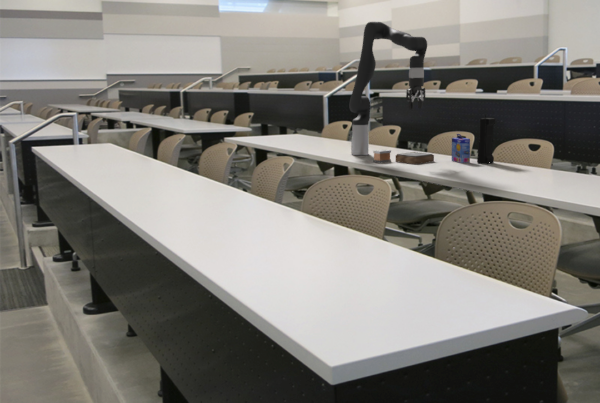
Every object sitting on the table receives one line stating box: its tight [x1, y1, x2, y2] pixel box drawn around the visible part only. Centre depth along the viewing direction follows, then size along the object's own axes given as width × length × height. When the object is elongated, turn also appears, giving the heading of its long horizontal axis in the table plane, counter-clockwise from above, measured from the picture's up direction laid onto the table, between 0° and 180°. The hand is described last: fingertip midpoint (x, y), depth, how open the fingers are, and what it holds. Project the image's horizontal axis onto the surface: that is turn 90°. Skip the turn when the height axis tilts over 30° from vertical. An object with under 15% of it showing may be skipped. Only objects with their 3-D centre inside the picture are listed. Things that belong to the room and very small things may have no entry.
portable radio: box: [476, 113, 496, 164], centre depth 324 cm, size 8×6×25 cm
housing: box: [372, 149, 392, 164], centre depth 338 cm, size 5×8×6 cm, turn 127°
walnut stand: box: [395, 151, 435, 165], centre depth 336 cm, size 14×14×4 cm
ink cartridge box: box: [451, 133, 471, 164], centre depth 331 cm, size 10×6×14 cm, turn 17°
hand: (415, 108), depth 331 cm, fingers open, 8 cm apart
